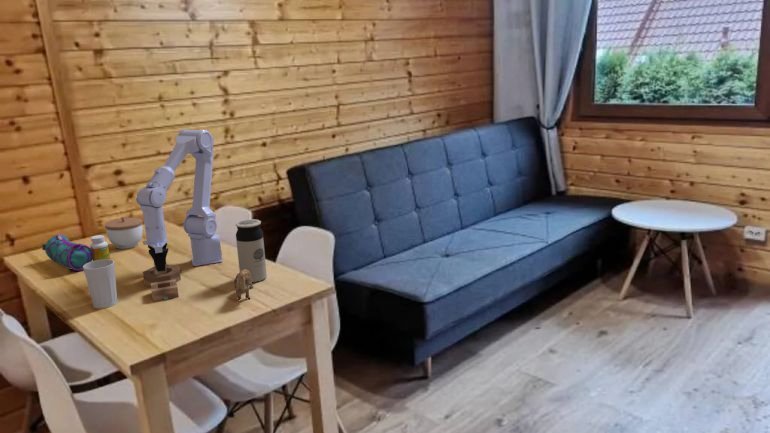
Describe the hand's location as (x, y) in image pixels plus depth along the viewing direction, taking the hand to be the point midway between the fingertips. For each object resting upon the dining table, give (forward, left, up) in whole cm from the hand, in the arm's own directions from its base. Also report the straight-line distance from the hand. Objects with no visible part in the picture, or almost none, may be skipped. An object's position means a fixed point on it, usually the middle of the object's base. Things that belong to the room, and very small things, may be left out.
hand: (161, 268), depth 186 cm
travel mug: (-26, +12, -4) cm, 29 cm away
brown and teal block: (0, 0, -4) cm, 4 cm away
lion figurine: (-21, +25, -4) cm, 33 cm away
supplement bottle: (+18, -26, -4) cm, 32 cm away
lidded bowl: (+10, -44, -4) cm, 45 cm away
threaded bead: (0, +13, -4) cm, 14 cm away
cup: (+16, +12, -4) cm, 20 cm away
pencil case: (+28, -30, -4) cm, 42 cm away
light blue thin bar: (0, +12, -4) cm, 12 cm away
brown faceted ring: (0, 0, -4) cm, 4 cm away
